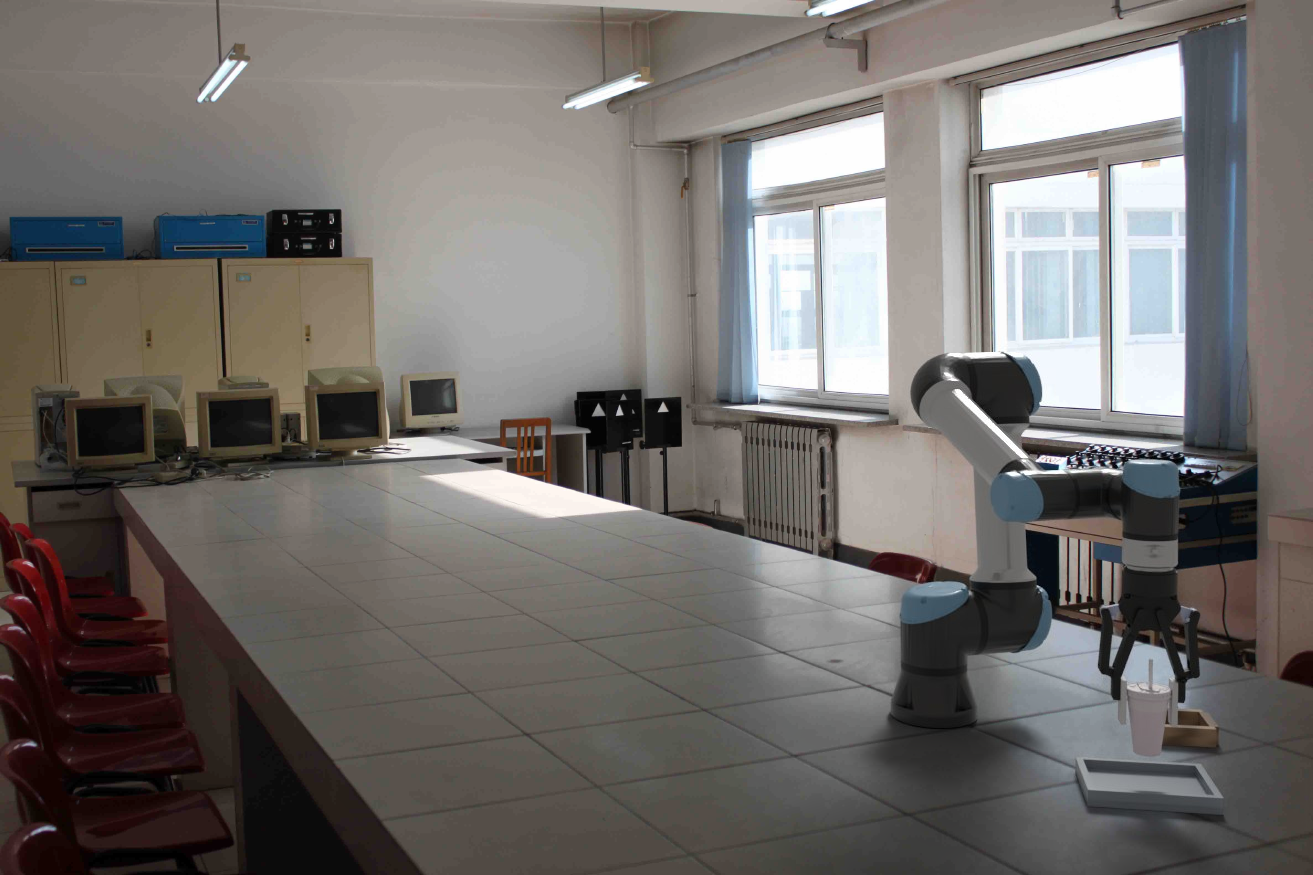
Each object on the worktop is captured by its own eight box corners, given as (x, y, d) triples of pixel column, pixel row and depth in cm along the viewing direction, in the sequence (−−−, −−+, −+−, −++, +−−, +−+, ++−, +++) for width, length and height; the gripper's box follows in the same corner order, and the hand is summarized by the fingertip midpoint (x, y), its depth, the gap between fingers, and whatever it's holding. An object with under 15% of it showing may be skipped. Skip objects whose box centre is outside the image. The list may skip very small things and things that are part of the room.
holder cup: (1149, 743, 197) (1150, 725, 196) (1138, 723, 207) (1138, 706, 207) (1220, 747, 194) (1221, 729, 194) (1205, 726, 205) (1205, 709, 205)
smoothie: (1142, 761, 171) (1143, 665, 170) (1114, 747, 177) (1115, 654, 176) (1180, 757, 173) (1182, 661, 172) (1151, 743, 179) (1152, 651, 178)
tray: (1087, 805, 171) (1087, 789, 170) (1075, 771, 184) (1075, 756, 184) (1223, 814, 167) (1223, 798, 167) (1200, 779, 180) (1200, 763, 180)
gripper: (1083, 569, 171) (1081, 727, 173) (1227, 573, 167) (1224, 734, 169) (1076, 560, 179) (1074, 711, 180) (1214, 563, 175) (1211, 718, 176)
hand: (1147, 722), depth 175 cm, fingers closed on smoothie, 6 cm apart
